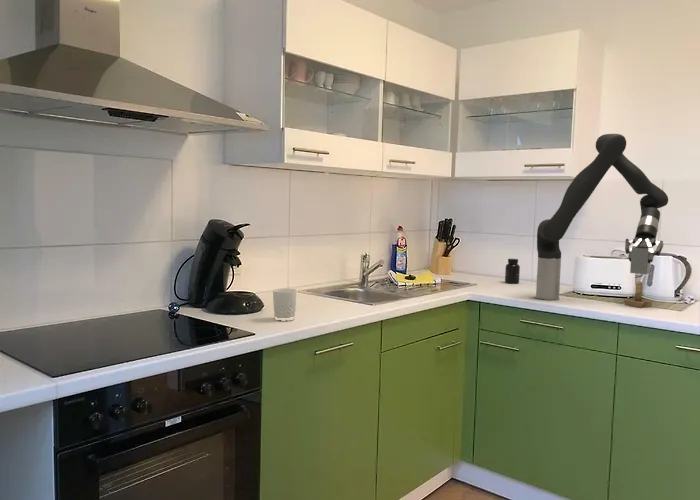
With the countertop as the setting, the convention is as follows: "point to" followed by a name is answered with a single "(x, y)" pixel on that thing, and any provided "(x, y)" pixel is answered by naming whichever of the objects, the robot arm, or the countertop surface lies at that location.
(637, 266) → the sleeve
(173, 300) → the countertop surface
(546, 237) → the robot arm
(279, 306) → the white cup
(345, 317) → the countertop surface
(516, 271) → the supplement bottle
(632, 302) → the post
